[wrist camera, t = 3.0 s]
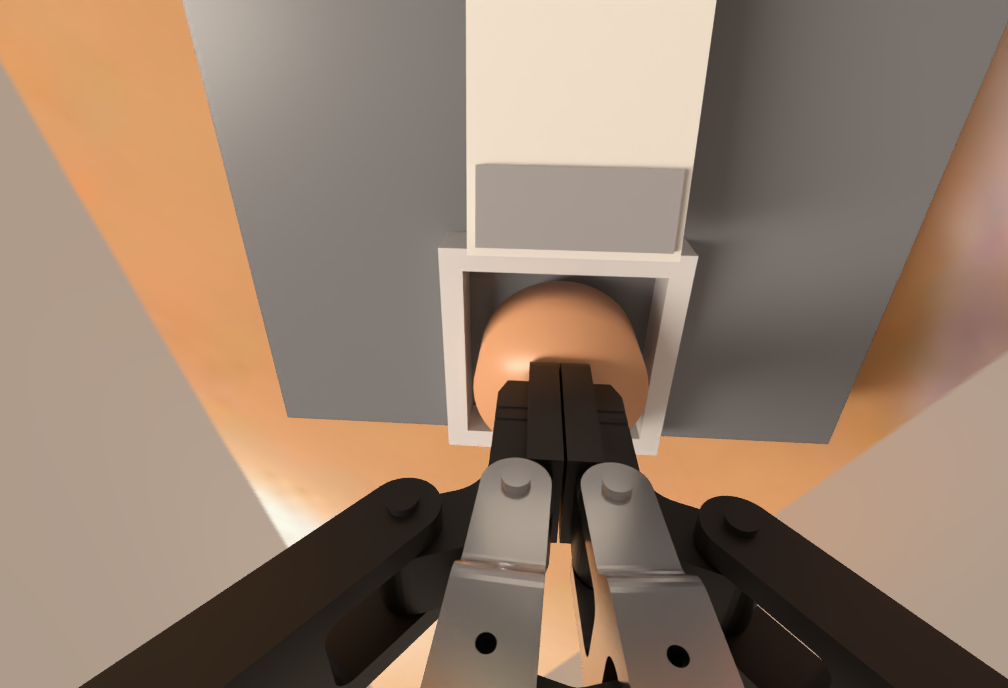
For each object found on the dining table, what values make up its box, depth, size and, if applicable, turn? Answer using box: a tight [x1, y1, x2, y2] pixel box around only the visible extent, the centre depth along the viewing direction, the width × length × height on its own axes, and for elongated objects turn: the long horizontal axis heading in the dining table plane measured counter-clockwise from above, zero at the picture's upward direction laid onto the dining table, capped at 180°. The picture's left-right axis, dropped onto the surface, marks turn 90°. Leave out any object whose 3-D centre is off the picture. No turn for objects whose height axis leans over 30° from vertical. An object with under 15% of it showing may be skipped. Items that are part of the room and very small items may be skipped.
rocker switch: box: [466, 0, 716, 262], centre depth 10 cm, size 4×7×1 cm, turn 179°
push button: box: [473, 281, 649, 431], centre depth 14 cm, size 4×4×2 cm
